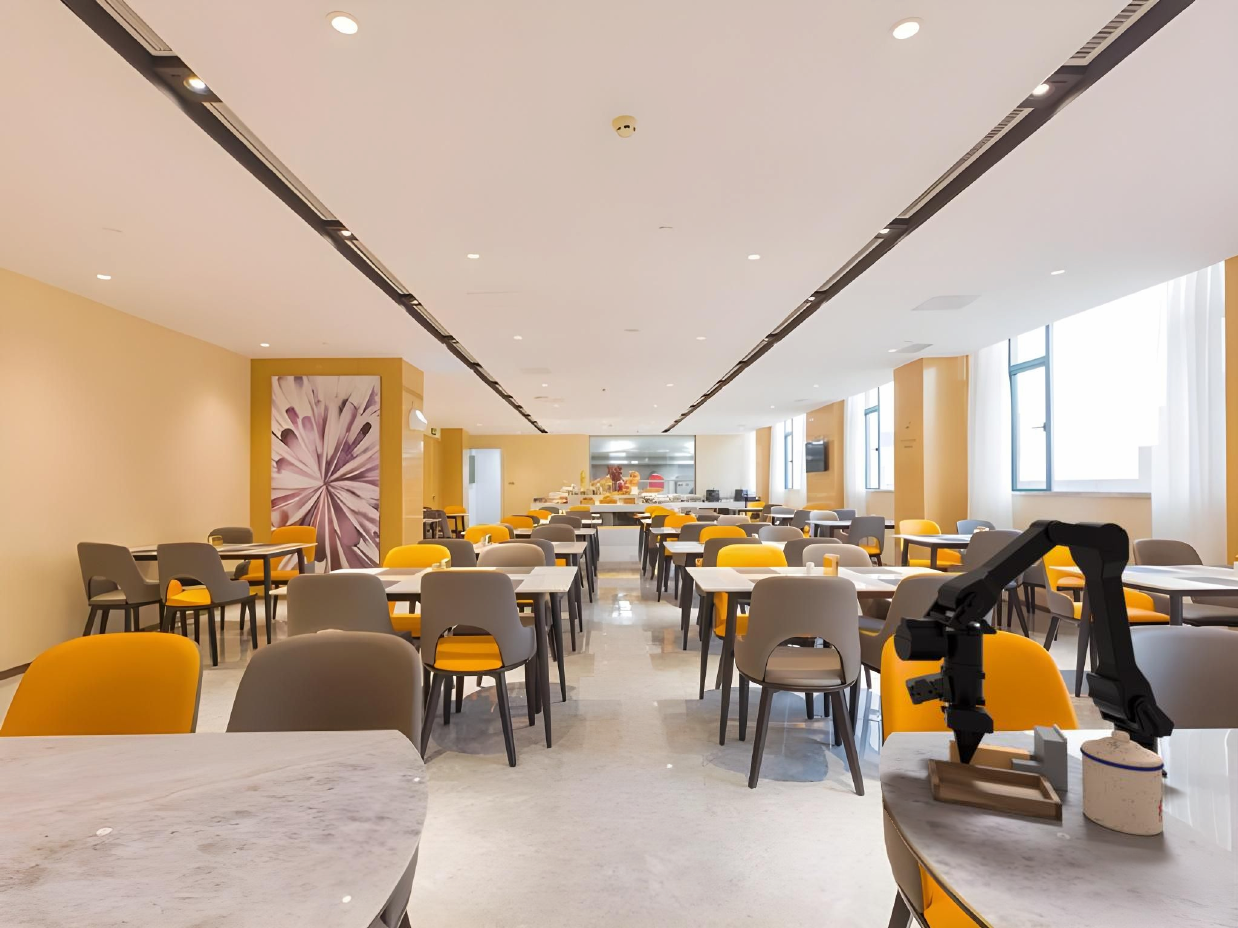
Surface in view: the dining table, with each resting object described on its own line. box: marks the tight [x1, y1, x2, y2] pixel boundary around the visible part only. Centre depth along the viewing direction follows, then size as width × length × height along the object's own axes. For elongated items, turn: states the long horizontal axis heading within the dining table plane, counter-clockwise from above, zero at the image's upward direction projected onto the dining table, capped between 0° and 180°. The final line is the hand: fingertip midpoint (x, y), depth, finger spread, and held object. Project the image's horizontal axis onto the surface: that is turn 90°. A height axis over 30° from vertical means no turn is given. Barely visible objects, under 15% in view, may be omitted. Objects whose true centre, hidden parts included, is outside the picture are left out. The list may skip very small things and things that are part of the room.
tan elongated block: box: [948, 739, 1030, 770], centre depth 108 cm, size 2×11×4 cm, turn 69°
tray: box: [928, 758, 1063, 822], centre depth 99 cm, size 11×16×2 cm
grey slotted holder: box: [1011, 723, 1069, 792], centre depth 105 cm, size 7×7×8 cm
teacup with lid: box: [1079, 729, 1165, 836], centre depth 93 cm, size 12×9×12 cm
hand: (963, 760), depth 109 cm, fingers open, 3 cm apart
